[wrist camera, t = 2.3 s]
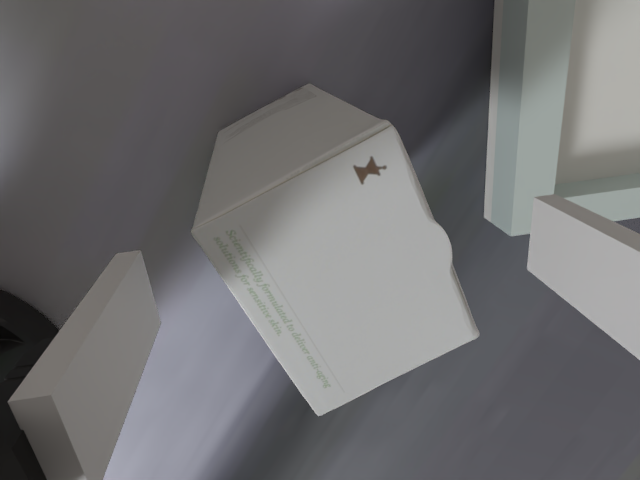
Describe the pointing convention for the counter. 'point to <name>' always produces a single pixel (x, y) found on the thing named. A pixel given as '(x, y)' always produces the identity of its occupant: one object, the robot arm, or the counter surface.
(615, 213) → the square shallow tray
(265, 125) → the skincare box
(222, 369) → the counter surface
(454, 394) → the counter surface
